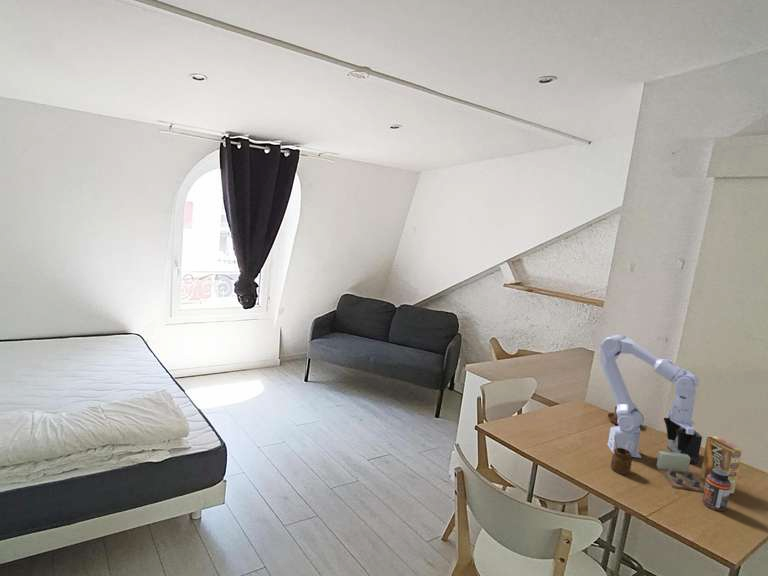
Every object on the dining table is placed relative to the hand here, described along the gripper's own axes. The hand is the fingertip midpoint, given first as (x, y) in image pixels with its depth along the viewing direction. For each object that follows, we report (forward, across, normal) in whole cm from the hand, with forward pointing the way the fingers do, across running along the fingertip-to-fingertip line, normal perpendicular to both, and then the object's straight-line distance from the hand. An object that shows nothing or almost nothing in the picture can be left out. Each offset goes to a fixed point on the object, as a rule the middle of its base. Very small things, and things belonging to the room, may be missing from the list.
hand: (676, 444), depth 150 cm
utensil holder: (+10, -6, +19) cm, 22 cm away
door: (+10, 0, 0) cm, 10 cm away
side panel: (+9, -7, -1) cm, 12 cm away
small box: (+10, +13, -9) cm, 19 cm away
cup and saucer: (+10, +37, +4) cm, 38 cm away
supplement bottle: (+10, -19, -4) cm, 22 cm away
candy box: (+10, -7, -10) cm, 16 cm away
